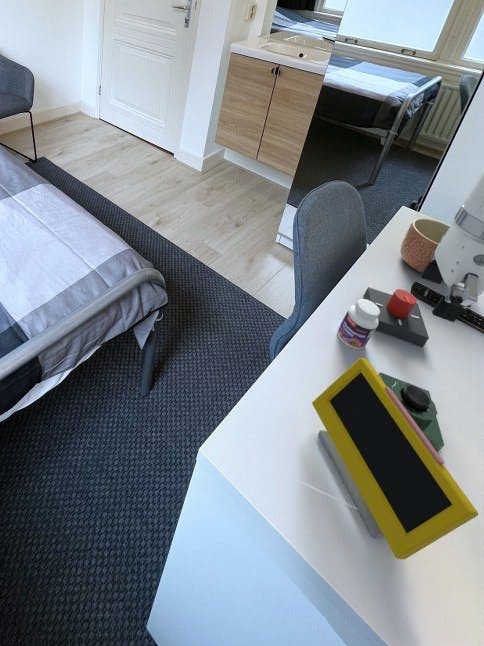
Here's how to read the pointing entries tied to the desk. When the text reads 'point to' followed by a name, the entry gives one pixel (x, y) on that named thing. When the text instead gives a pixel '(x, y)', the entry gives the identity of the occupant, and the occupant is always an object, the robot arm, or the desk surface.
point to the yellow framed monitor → (388, 463)
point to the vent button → (415, 398)
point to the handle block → (398, 320)
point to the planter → (422, 242)
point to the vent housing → (418, 412)
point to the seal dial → (401, 303)
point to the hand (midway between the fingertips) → (435, 297)
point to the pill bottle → (359, 324)
